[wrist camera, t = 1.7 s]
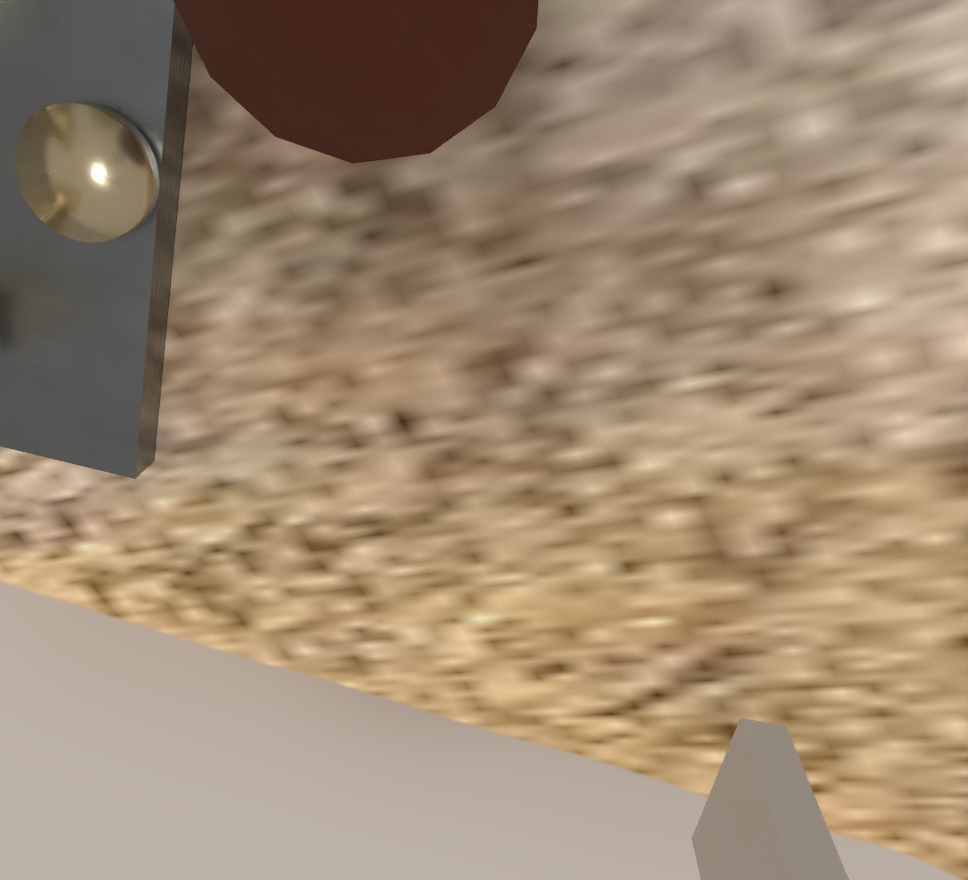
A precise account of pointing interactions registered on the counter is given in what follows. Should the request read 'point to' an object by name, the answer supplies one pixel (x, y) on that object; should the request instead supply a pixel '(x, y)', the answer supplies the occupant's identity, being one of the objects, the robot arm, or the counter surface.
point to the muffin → (362, 67)
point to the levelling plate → (88, 223)
